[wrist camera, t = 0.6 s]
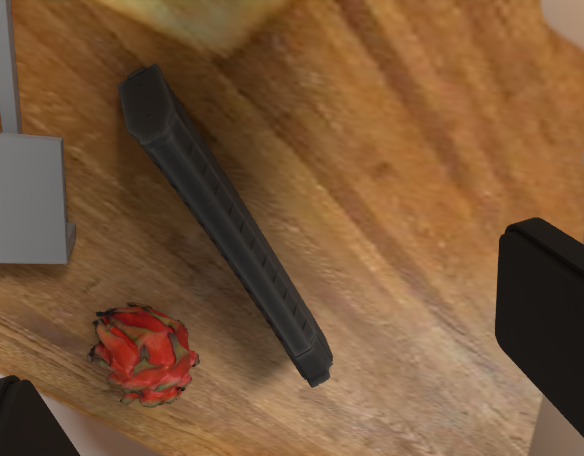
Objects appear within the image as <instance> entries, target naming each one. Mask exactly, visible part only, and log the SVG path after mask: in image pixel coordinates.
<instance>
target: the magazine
mask: <svg viewBox="0 0 584 456" xmlns="http://www.w3.org/2000/svg"><path fill="white" fill-rule="evenodd" d="M118 90H119V94H120V99H121V104H122V109H123V114H124V118H125V123H126V128H127V131H128V132H129V134H130V135H131V136H132V137H133V138H134V139H136V140H137V141H138V143H139V144H140V145H141V146H142V148H143V149H144V150H145V151H146V153H147V154H148V155H149V157H150V158H151V159H152V160H153V162H154V164H155V165H156V166H157V167H158V168H159V170H160V171H161V172H162V173H163V175H164V176H165V177H166V179H167V180H168V181H169V183H170V185H171V186H172V187H173V188H174V189H175V191H176V192H177V193H178V195H179V196H180V197H181V199H182V200H183V202H184V204H185V205H186V206H187V207H188V208H189V210H190V211H191V212H192V214H193V215H194V217H195V218H196V219H197V221H198V223H199V224H200V225H201V226H202V228H203V229H204V231H205V232H206V233H207V235H208V236H209V238H210V240H211V241H212V242H213V243H214V245H215V246H216V247H217V249H218V250H219V252H220V253H221V255H222V256H223V258H224V259H225V260H226V262H227V263H228V264H229V266H230V267H231V269H232V270H233V272H234V274H235V275H236V276H237V277H238V279H239V280H240V282H241V283H242V285H243V286H244V288H245V290H246V291H247V292H248V294H249V295H250V297H251V298H252V299H253V301H254V302H255V305H256V306H257V307H258V308H259V310H260V311H261V313H262V314H263V316H264V318H265V320H266V321H267V323H268V324H269V325H270V327H271V328H272V330H273V331H274V333H275V335H276V337H277V338H278V339H279V341H280V342H281V344H282V345H283V347H284V348H285V351H286V352H287V354H288V356H289V357H290V359H291V360H292V362H293V363H294V365H295V366H296V368H297V370H298V371H299V373H300V374H301V376H302V377H303V378H304V379H305V380H307V381H308V383H309V385H310V386H311V387H313V388H314V387H316V386H320V384H321V383H323V382H325V381H326V380H328V379H329V378H330V374H329V368H330V367H331V366H332V365H333V363H332V361H333V359H332V358H333V356H332V353H331V350H330V348H329V345H328V343H327V340H326V338H325V336H324V334H323V333H322V331H321V329H320V327H319V326H318V324H317V322H316V321H315V319H314V317H313V316H312V314H311V312H310V310H309V309H308V307H307V306H306V305H305V303H304V301H303V300H302V298H301V296H300V295H299V293H298V291H297V290H296V288H295V286H294V285H293V283H292V281H291V280H290V278H289V276H288V275H287V273H286V271H285V270H284V268H283V266H282V265H281V263H280V261H279V260H278V258H277V256H276V255H275V253H274V251H273V250H272V248H271V247H270V245H269V243H268V242H267V240H266V238H265V237H264V235H263V233H262V232H261V230H260V229H259V227H258V225H257V224H256V222H255V220H254V219H253V217H252V216H251V214H250V212H249V211H248V209H247V208H246V206H245V204H244V203H243V201H242V200H241V198H240V196H239V195H238V193H237V192H236V190H235V188H234V187H233V185H232V184H231V182H230V180H229V179H228V177H227V176H226V174H225V173H224V171H223V169H222V168H221V166H220V165H219V163H218V161H217V160H216V158H215V157H214V155H213V154H212V152H211V150H210V149H209V147H208V146H207V144H206V143H205V141H204V140H203V138H202V136H201V135H200V133H199V132H198V130H197V129H196V127H195V125H194V124H193V122H192V121H191V119H190V118H189V116H188V115H187V113H186V111H185V110H184V108H183V107H182V105H181V104H180V102H179V101H178V99H177V97H176V96H175V94H174V93H173V91H172V90H171V88H170V87H169V85H168V83H167V82H166V80H165V79H164V77H163V75H162V73H161V70H160V68H159V67H158V65H157V64H152V65H151V66H149V67H147V68H145V67H142V68H141V69H139V70H137V71H135V72H134V73H132V74H130V75H129V76H127V79H126V80H124V81H123V82H121V83H119V85H118Z"/></svg>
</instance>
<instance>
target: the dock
mask: <svg viewBox="0 0 584 456" xmlns="http://www.w3.org/2000/svg"><path fill="white" fill-rule="evenodd" d="M0 114H1V124H2V132H0V263H31V264H67V262H68V259H69V256H70V254H71V251H72V248H73V245H74V242H75V240H76V227H75V223H67V207H66V187H65V167H64V148H63V137H52V136H40V135H28V134H22V125H21V114H20V103H19V91H18V80H17V68H16V57H15V46H14V34H13V23H12V12H11V0H0Z"/></svg>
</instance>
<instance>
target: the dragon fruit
mask: <svg viewBox="0 0 584 456" xmlns="http://www.w3.org/2000/svg"><path fill="white" fill-rule="evenodd" d="M127 304H129V305H130V306H131V307H130V308H114V309H112V308H111V309H109V310H108V311H106V312H105V313H104V312H96V315H97V317H98V316H103V318H100V319H99V321H97V320H95V321H94V322H93V323H92V324H95V329H96V334H97V336H98V338H99V339H100V340H101V341H99V343H98V344H97V345H96V346H94V347H93V348H92V349H91V351H90V353H88V354H87V358H88V360H90V361H91V362H92V361H93V360H94V361H96V362H99V366H100V368H101V369H104V370H107V371H112V372H113V373H111V374H110V375H109V376H108V378H107V379H106V380H107V382H108V383H109V384H120V385H121V389H122V390H123V392H125V393H124V394H123V397H122V400H120V402H121V403H123V404H127V405H128V404H130V403H131V402H133V401H134V400H135V399H136V398H137V399H138V398H139V401H140V403H141V404H142V405H143V406H145V407H156V406H157V405H162V404H164V403H168V404H171V403H172V402H174V401H175V400H177V399H178V398H179V397H180V395H181V391H184V390H185V389H186V387H187V385H188V384H190V383H191V381H192V377H191V376H190V375H189V374H188V371H189V369H190V368H191V366H192V367H195V366H196V365H198V364H199V363H200V361H199V355H198V354H197V353H195V351H191V350H190V349H189V346H188V332H187V329H186V327H185V325H184V324H183V323H182V322H181V321H180V320H177V321H176V320H172V319H170V318H169V317H168V316H166V315H165V314H163V313H161V312H159V311H155V310H153V309H152V307H150V306H145V305H142V304H136V303H134V302H132V303H127ZM84 327H85V326H84ZM93 356H99V357H102V358H103V359H105V360H106V361H108V362H109V363H110V365H109V366H108V365H107V363H106V362H105V361H104V360H103V359H99V358H97V357H93ZM180 389H181V390H180Z"/></svg>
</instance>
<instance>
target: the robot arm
mask: <svg viewBox="0 0 584 456" xmlns="http://www.w3.org/2000/svg"><path fill="white" fill-rule="evenodd" d="M495 336H496V339H497V342H498V344H499V346H500V347H501V348H502V350H503V351H504V352H505V353H506V354H507V355H508V356H509V357H510V358H511V360H512V361H513V362H514V363H515V364H516V365H517V366H518V367H519V368H520V369H521V370H522V371H523V373H524V374H525V375H526V376H527V377H528V378H529V379H530V380H531V381H532V382H533V383H534V384H535V386H536V387H537V388H538V389H539V390H540V391H541V392H542V393H543V394H544V395H545V396H546V397H547V398H548V400H549V401H550V402H551V403H552V404H553V405H554V406H555V407H556V408H557V409H558V410H559V411H560V413H561V414H562V415H564V417H565V418H566V419H567V420H568V421H569V422H570V423H571V424H572V425H573V427H574V428H575V429H576V430H577V431H578V432H579V433H580V434H581V435H582V436H583V437H584V245H583V244H582V243H580V242H579V241H577V240H575V239H574V238H572V237H571V236H569V235H567V234H566V233H564V232H562V231H561V230H559V229H558V228H556V227H554V226H553V225H551V224H550V223H548V222H546V221H545V220H543V219H541V218H538V217H537V218H531V219H528V220H524V221H521V222H518V223H514V224H511V225H509V226H507V228H506V230H505V234H503V235H501V237H500V240H499V256H498V277H497V298H496V319H495ZM0 456H80V454H79V453H78V452H77V450H76V448H75V447H74V445H73V444H72V442H71V441H70V440H69V438H68V436H67V435H66V434H65V432H64V430H63V429H62V427H61V426H60V425H59V423H58V422H57V420H56V419H55V417H54V416H53V414H52V413H51V411H50V410H49V408H48V407H47V405H46V404H45V402H44V401H43V399H42V398H41V396H40V395H39V393H38V392H37V390H36V389H35V387H34V386H33V384H32V383H31V382H30V381H29V380H22V381H21V380H20V379H19V378H18V377H16V376H15V375H10V376H7V377H4V378H1V379H0Z"/></svg>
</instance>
